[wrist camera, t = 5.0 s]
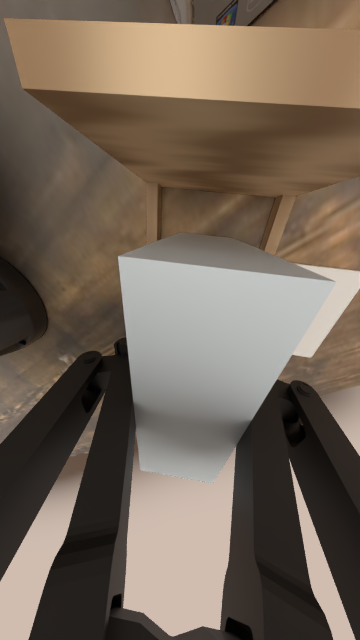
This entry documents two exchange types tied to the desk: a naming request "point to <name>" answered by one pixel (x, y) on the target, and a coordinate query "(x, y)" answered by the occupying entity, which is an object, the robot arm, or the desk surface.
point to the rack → (204, 104)
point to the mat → (328, 306)
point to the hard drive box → (217, 11)
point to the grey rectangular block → (208, 343)
